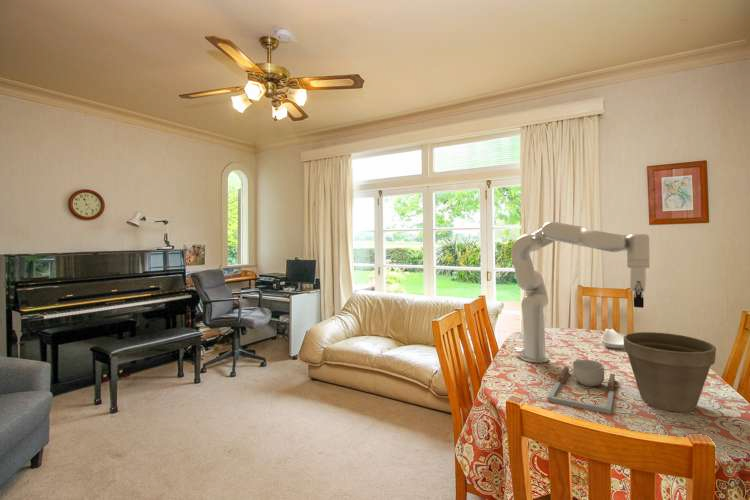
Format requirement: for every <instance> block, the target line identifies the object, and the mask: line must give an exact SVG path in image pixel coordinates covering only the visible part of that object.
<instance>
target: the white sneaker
mask: <svg viewBox="0 0 750 500" xmlns="http://www.w3.org/2000/svg"><path fill="white" fill-rule="evenodd" d="M600 341H601V343H602V344H603V346H605V347H606V348H609V349H615V350H620V349H624V336H622V335H621V334H619V333H618V332H617V331H616V330H615V329H613V328H611V329H608V328H605V330H604V331H603V334H602V336H601V338H600Z"/></svg>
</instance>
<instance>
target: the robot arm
mask: <svg viewBox="0 0 750 500" xmlns="http://www.w3.org/2000/svg"><path fill="white" fill-rule="evenodd" d="M555 242H559V243H565V244H568V245H572V246H573V245H574V246H578V247H587V248H590V249H594V250H599V251H605V252H609V253H619V252H624V251H626V261H627V263H626V268H629V291H630V292H634V293H633V307H634V308H643V309H644V306H645V305H644V293H645V291H646V285H647V284H646V281H647V280H646V279H647V269H649V268H651V267H650V236H649V235H648V234H646V233H633V234H631V233H630V234H620V233H619V234H618V233H611V232H605V231H600V230H594V229H590V228H588V227H585V226H580V225H575V224H569V223H564V222H558V221H547V222H545V223H544V224H543V225H542V227H541V228H540V229H539V230H536V231H535V232H533V233H527V234H526V233H525V234H522V235H521V236H519V237H518V238H516V240H515V241H514V242H513V244H512V246H511V250H510V255H511V260H512V263H513V269H514V271H515V276H516V280H517V284H518V287H519V288H520V289H522V290H523V291H525V294H526V295H524V297H523V298H522V300H521V303H520V304H521V313H522V314H521V315H522V331H523V332H522V333H523V337H522V338H523V340H522V341H523V347H521V348H519V347H514V352H515V353H517V354H520V359H521V360H522V361H525V362H529V363H537V364H538V363H539V364H541V363H543V364H544V363H547V362H549V361H550V357H549V356H548V355H546V332H545V331H546V329H545V314H544V310H545V308H547V307H548V304H549V297H548V294H547V293H548V292H547V288H546V285H545V282H544V278H543V277H542V275H541V274H540V272H539V271H537V270H536V269H535V268H534V263H533V260H532V258H531V253H532V252H537V251H538V250H539V251H540V250H541V249H543V248H544V247H547V246H548V245H550V244H553V243H555Z"/></svg>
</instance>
